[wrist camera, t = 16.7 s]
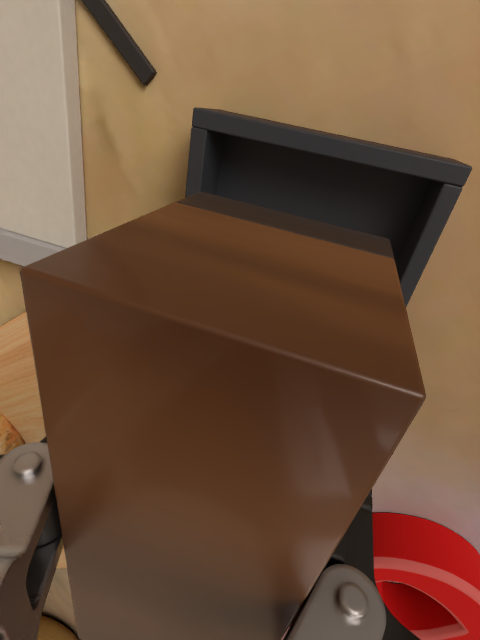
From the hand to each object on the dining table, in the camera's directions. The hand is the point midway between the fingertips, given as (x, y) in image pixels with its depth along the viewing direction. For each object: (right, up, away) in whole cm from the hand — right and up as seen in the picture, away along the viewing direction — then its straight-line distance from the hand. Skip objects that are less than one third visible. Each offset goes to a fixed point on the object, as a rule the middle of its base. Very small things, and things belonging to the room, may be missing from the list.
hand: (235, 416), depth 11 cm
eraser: (0, +1, +1) cm, 1 cm away
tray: (+2, +4, +7) cm, 8 cm away
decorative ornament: (+11, -13, +13) cm, 22 cm away
